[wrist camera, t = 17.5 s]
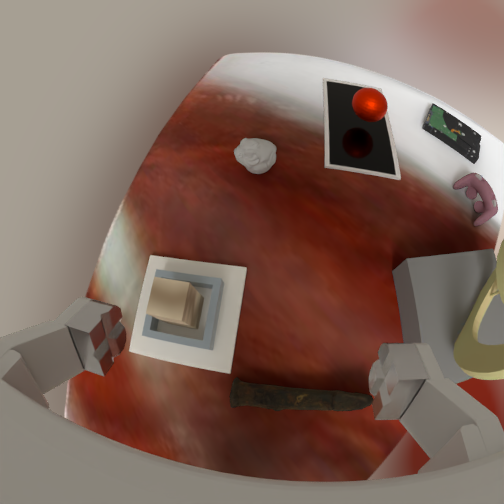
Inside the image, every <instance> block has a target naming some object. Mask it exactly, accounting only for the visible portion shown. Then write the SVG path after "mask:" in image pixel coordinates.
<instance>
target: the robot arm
mask: <svg viewBox="0 0 504 504" xmlns="http://www.w3.org/2000/svg"><path fill="white" fill-rule="evenodd" d="M121 318H122V313H121V309H120V308H119V307H118V306H116V305H112V304H108V303H104V302H101V301H97V300H92V299H89V298H86V297H79V298H78V299H77V300H76V301H74V302H73V303H72V304H71V305H70V306H69V307H68V308H67V309H66V310H65V311H64V312H63V313H61V314H60V315H59V316H58V317H57V318H56V319H55V320H54V321H47V322H44V323H41V324H38V325H35V326H32V327H29V328H26V329H24V330H21V331H18V332H15V333H13V334H9V335H6V336H4V337H1V338H0V504H504V432H503V429H502V427H501V424H500V422H499V420H498V418H497V416H496V415H494V414H493V413H492V412H491V411H489V410H488V409H487V408H486V407H484V406H483V405H482V404H481V403H479V402H478V401H477V400H475V399H474V398H473V397H472V396H470V395H469V394H468V393H466V392H465V391H464V390H462V389H461V388H460V387H459V386H458V385H456V384H455V383H454V382H452V381H451V380H450V379H449V378H446V379H445V378H444V376H443V374H442V372H441V369H440V367H439V365H438V363H437V361H436V358H435V356H434V354H433V352H432V350H431V348H430V346H429V345H428V344H427V343H383V344H382V345H381V346H380V349H379V351H378V355H379V359H378V360H377V361H376V362H374V363H373V365H372V368H371V370H370V374H369V390H370V393H371V394H372V395H373V396H375V398H374V400H373V402H372V407H373V412H374V418H375V420H394V419H400V420H399V421H400V422H401V423H402V424H403V426H404V427H405V428H406V429H407V430H408V432H409V433H410V434H411V435H412V437H413V438H414V439H415V440H416V441H417V443H419V445H420V446H421V448H422V449H423V450H424V451H425V453H426V454H427V455H428V456H429V457H430V460H429V461H428V462H427V463H426V464H425V465H424V466H423V467H421V469H420V470H419V471H418V474H414V475H409V476H402V477H395V478H386V479H377V480H364V481H346V482H306V481H287V480H275V479H265V478H257V477H249V476H242V475H236V474H230V473H224V472H219V471H214V470H209V469H204V468H200V467H196V466H191V465H187V464H184V463H180V462H176V461H172V460H169V459H165V458H162V457H159V456H156V455H152V454H149V453H146V452H143V451H140V450H138V449H135V448H132V447H129V446H127V445H124V444H121V443H119V442H116V441H114V440H111V439H109V438H106V437H104V436H102V435H99V434H97V433H95V432H93V431H91V430H88V429H86V428H84V427H82V426H80V425H78V424H76V423H74V422H72V421H70V420H68V419H66V418H64V417H62V416H60V415H58V414H57V413H55V412H53V411H51V410H49V403H48V402H47V400H46V399H45V397H44V395H43V394H45V393H46V392H48V391H50V390H51V389H53V388H55V387H57V386H58V385H60V384H62V383H63V382H65V381H67V380H69V379H71V378H72V377H74V376H76V375H77V374H79V373H81V372H83V371H84V370H87V371H90V372H93V373H96V374H99V375H102V376H105V375H106V373H107V372H108V371H109V369H110V368H111V366H112V365H113V363H114V361H113V357H115V356H117V355H119V354H120V353H121V352H122V350H123V349H124V346H125V343H126V331H125V327H124V326H123V325H122V324H121V322H120V320H121Z"/></svg>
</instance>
